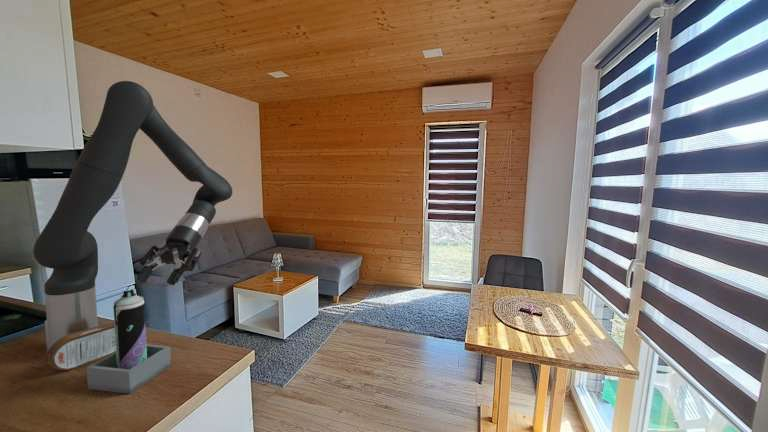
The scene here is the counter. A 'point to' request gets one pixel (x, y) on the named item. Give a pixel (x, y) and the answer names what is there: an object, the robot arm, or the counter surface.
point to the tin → (82, 347)
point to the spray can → (130, 330)
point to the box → (128, 371)
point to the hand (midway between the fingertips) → (155, 282)
